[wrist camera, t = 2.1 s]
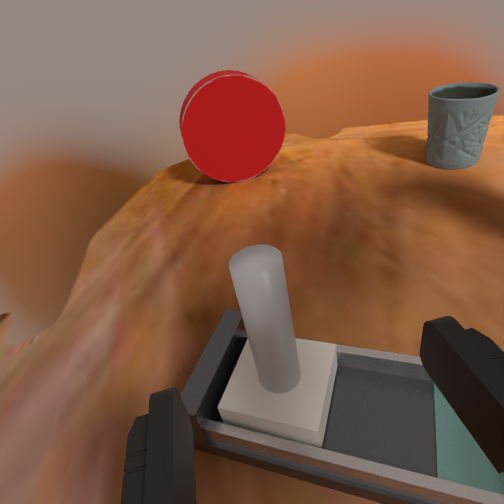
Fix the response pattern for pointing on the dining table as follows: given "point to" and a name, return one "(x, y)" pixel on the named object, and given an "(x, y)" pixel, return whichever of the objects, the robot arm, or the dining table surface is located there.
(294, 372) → the carriage
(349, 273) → the dining table surface
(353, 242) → the dining table surface
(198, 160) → the toy clock
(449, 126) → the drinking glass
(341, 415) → the gray tray
